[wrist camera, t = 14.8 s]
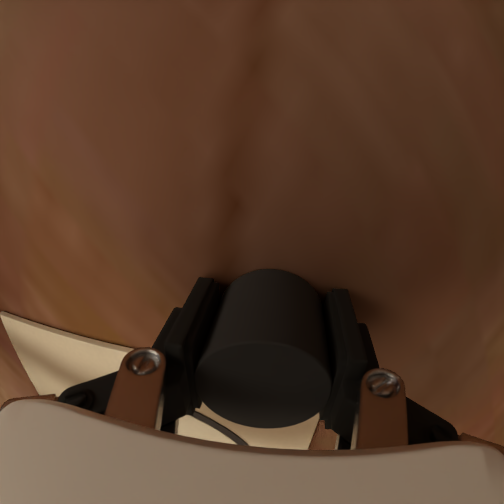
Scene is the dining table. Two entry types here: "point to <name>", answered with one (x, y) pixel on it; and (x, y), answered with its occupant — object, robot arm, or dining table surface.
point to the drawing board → (108, 361)
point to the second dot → (266, 353)
